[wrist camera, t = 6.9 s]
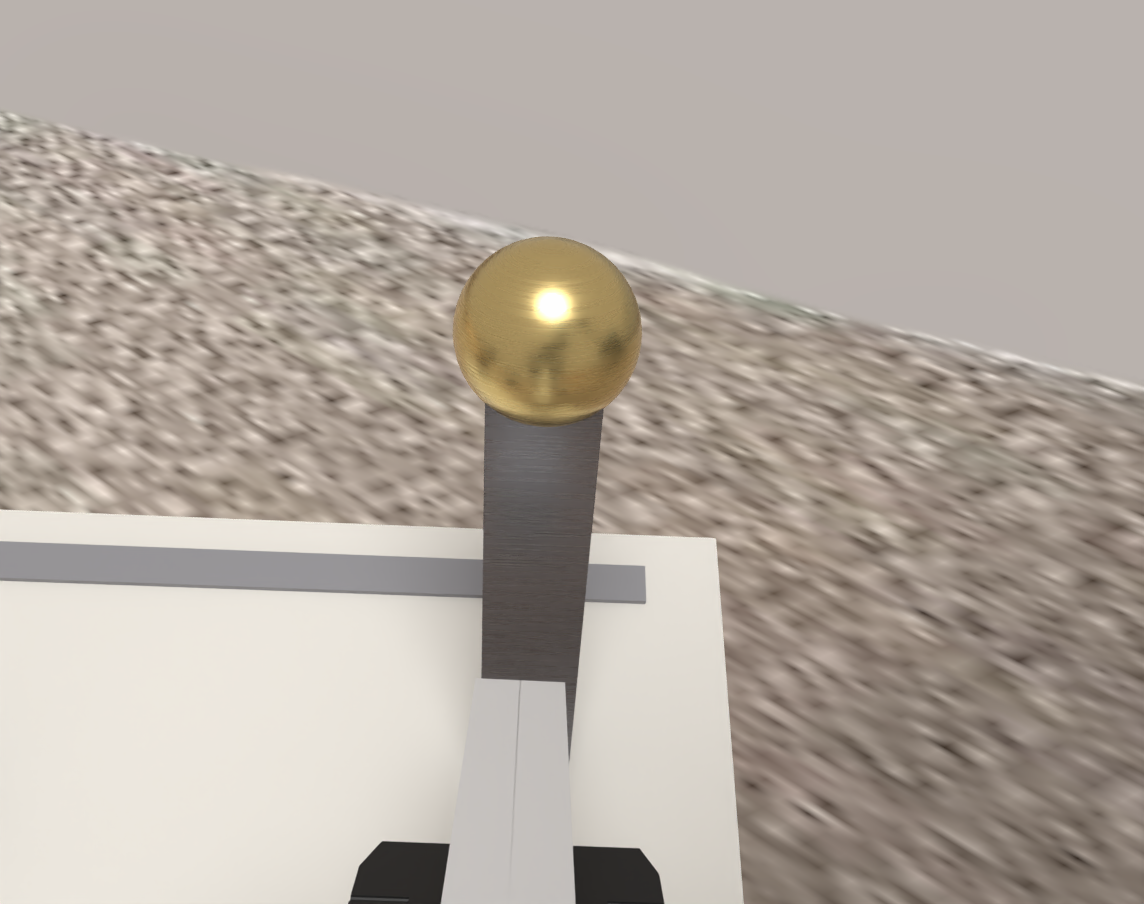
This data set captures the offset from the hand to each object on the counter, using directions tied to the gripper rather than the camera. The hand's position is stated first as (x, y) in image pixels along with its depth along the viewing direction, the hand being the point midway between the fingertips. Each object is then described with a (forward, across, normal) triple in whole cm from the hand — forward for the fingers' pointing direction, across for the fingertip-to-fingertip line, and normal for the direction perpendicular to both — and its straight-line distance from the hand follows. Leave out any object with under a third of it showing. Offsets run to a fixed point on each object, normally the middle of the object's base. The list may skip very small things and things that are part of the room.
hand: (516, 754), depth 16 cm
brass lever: (+6, 0, -4) cm, 7 cm away
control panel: (+8, -7, -6) cm, 12 cm away
